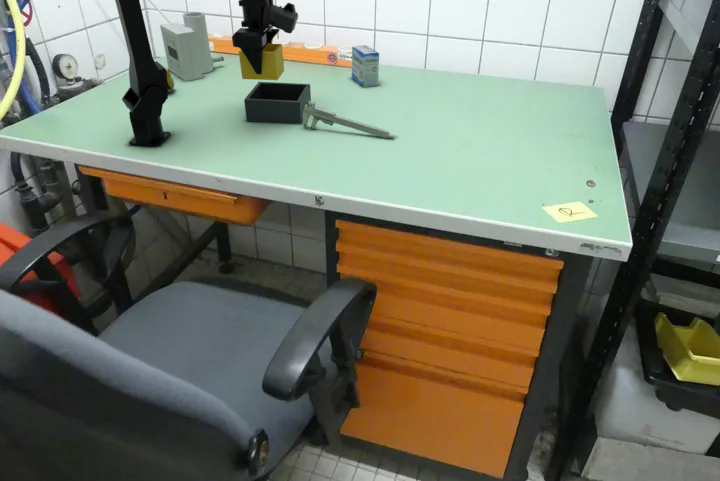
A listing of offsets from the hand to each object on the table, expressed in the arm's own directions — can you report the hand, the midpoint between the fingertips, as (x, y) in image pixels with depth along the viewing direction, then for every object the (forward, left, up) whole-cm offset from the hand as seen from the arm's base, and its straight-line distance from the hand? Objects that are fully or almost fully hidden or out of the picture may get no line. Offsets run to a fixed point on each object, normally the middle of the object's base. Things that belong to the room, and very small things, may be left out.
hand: (263, 69), depth 118 cm
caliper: (-9, -20, -11) cm, 24 cm away
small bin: (0, 0, -1) cm, 1 cm away
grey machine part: (+28, +27, -11) cm, 40 cm away
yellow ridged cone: (+10, +29, -11) cm, 32 cm away
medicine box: (+25, -20, -11) cm, 34 cm away
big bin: (+1, -3, -10) cm, 11 cm away
